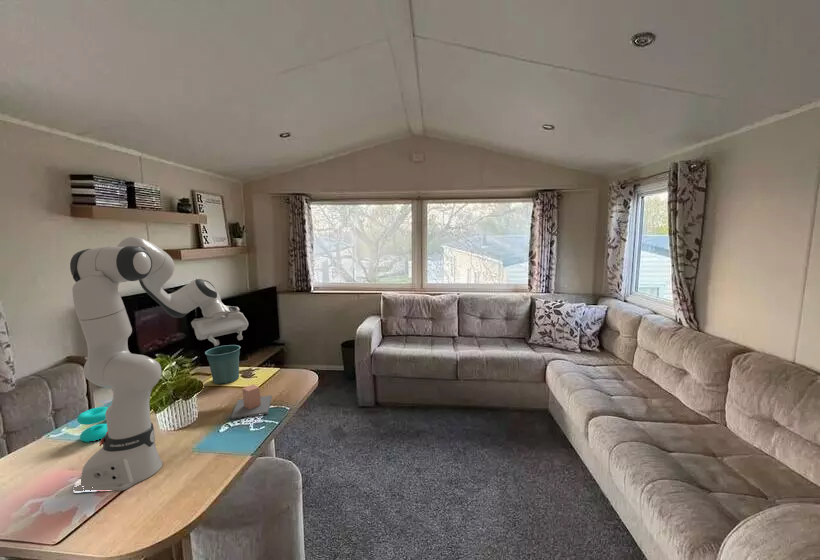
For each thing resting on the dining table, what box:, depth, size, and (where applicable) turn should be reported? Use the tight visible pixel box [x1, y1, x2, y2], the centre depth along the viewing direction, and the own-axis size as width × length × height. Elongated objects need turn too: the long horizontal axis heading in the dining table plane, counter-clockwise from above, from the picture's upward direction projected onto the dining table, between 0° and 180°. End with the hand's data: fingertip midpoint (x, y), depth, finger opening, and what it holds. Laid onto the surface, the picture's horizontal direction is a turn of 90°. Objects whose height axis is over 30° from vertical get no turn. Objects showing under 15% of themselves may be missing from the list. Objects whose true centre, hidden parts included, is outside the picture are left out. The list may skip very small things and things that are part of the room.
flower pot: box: [204, 344, 242, 385], centre depth 198 cm, size 16×16×16 cm
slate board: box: [230, 395, 273, 420], centre depth 166 cm, size 14×17×1 cm
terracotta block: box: [241, 384, 261, 409], centre depth 165 cm, size 5×5×8 cm
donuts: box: [77, 406, 109, 443], centre depth 145 cm, size 10×10×10 cm
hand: (229, 341), depth 155 cm, fingers open, 8 cm apart
